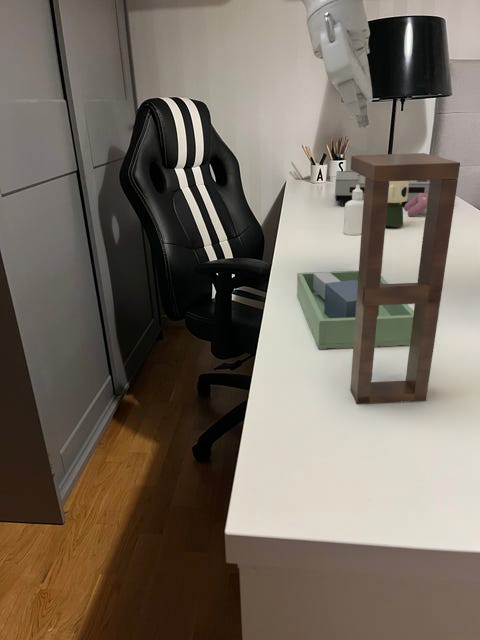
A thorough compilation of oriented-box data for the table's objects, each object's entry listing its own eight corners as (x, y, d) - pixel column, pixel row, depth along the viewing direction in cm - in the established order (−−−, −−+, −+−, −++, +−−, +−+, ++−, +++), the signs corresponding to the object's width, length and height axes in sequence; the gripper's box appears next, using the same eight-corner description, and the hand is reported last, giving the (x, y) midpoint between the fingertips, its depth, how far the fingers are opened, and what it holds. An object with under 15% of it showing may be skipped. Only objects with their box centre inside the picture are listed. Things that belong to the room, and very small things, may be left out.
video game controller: (420, 222, 141) (435, 200, 138) (406, 215, 141) (420, 192, 138) (415, 215, 150) (429, 194, 147) (402, 208, 150) (415, 187, 147)
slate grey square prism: (333, 292, 87) (335, 264, 85) (377, 329, 72) (380, 297, 70) (306, 295, 86) (307, 267, 84) (344, 334, 71) (346, 301, 69)
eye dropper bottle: (344, 230, 129) (347, 183, 124) (367, 232, 127) (370, 183, 123) (342, 234, 125) (344, 186, 121) (365, 236, 124) (368, 186, 119)
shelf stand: (399, 362, 65) (424, 153, 54) (426, 400, 57) (460, 162, 46) (338, 365, 65) (351, 155, 54) (356, 404, 57) (375, 165, 46)
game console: (441, 208, 151) (445, 180, 148) (334, 207, 157) (335, 180, 154) (431, 195, 170) (434, 170, 167) (335, 195, 176) (336, 171, 173)
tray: (373, 292, 88) (375, 269, 86) (415, 345, 69) (419, 316, 68) (296, 296, 88) (297, 272, 86) (318, 349, 69) (319, 321, 67)
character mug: (401, 232, 126) (407, 179, 121) (373, 230, 129) (377, 178, 124) (406, 222, 135) (412, 173, 130) (379, 221, 138) (384, 172, 133)
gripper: (346, -4, 67) (369, 99, 68) (369, 46, 86) (387, 126, 87) (302, 17, 70) (325, 116, 71) (333, 61, 88) (352, 139, 89)
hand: (360, 122), depth 79 cm, fingers open, 8 cm apart
